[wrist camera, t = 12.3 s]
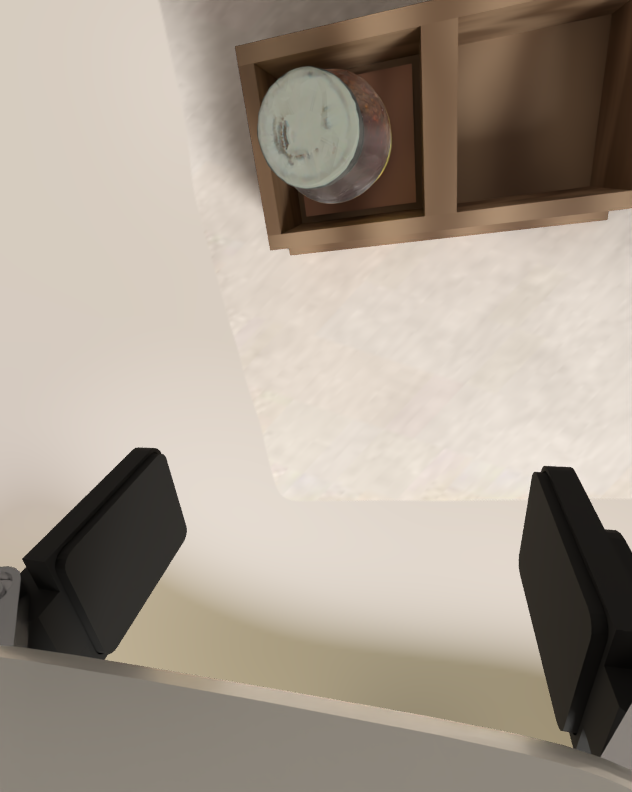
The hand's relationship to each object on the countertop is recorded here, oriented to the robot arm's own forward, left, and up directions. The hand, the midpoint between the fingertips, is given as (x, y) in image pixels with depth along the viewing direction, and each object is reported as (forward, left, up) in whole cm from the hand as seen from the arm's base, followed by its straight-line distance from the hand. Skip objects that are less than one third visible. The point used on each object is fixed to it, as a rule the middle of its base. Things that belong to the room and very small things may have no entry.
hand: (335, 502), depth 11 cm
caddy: (-4, -9, -32) cm, 33 cm away
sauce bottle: (+2, -9, -30) cm, 32 cm away
